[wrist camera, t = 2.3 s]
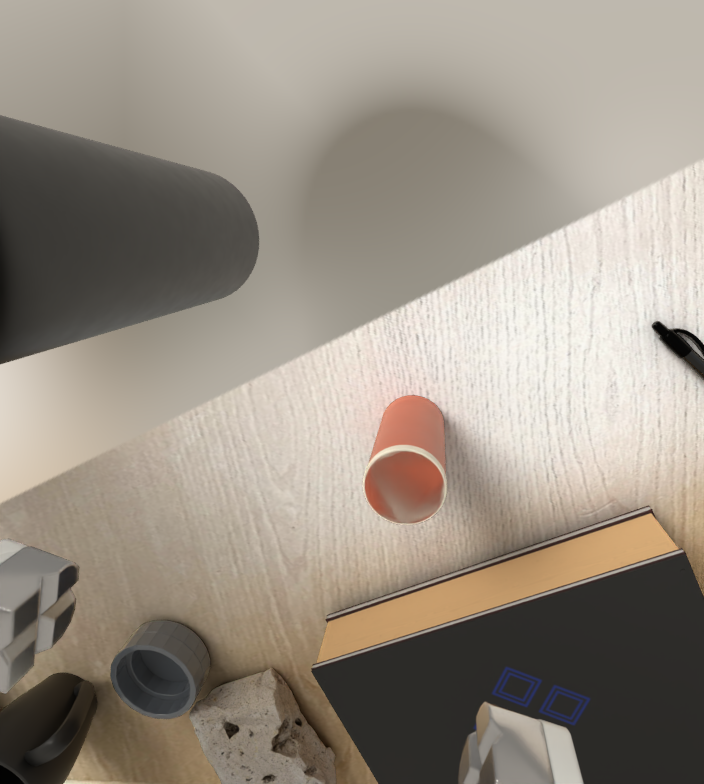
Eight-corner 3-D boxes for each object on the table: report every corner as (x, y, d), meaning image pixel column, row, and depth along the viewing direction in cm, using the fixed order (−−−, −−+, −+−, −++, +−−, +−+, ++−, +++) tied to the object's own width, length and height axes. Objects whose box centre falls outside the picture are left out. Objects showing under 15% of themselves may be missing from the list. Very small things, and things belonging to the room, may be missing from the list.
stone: (264, 646, 45) (187, 692, 49) (243, 710, 40) (158, 756, 43) (366, 739, 48) (286, 776, 51) (359, 810, 43) (271, 846, 46)
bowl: (117, 643, 48) (93, 674, 45) (167, 600, 46) (146, 629, 43) (176, 699, 49) (157, 733, 46) (229, 659, 47) (213, 692, 43)
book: (726, 693, 40) (779, 779, 34) (421, 768, 47) (418, 851, 40) (644, 499, 37) (686, 554, 31) (328, 608, 44) (310, 671, 37)
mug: (155, 692, 49) (91, 796, 40) (73, 743, 52) (-3, 849, 43) (93, 628, 48) (14, 719, 39) (14, 683, 51) (-76, 779, 42)
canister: (368, 421, 39) (345, 482, 29) (415, 381, 37) (407, 431, 28) (410, 466, 39) (401, 540, 30) (458, 428, 38) (465, 493, 28)
